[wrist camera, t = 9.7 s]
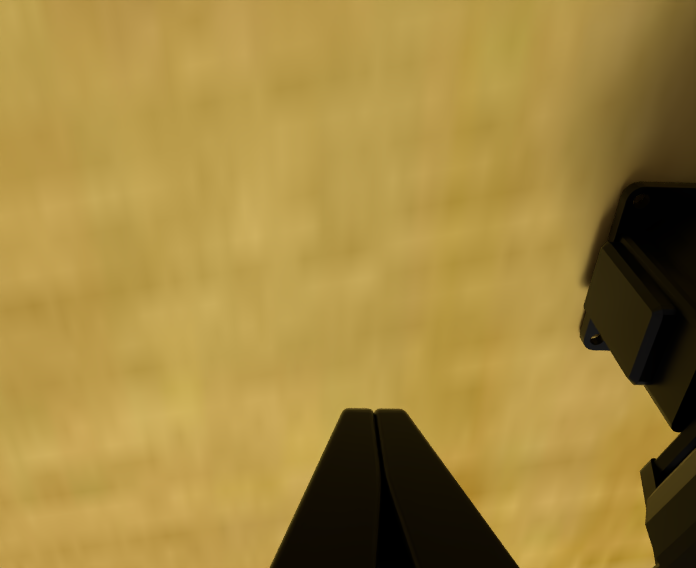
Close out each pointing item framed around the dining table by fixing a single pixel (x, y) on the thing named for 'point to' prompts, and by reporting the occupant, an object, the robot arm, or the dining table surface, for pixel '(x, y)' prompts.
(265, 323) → the dining table surface
